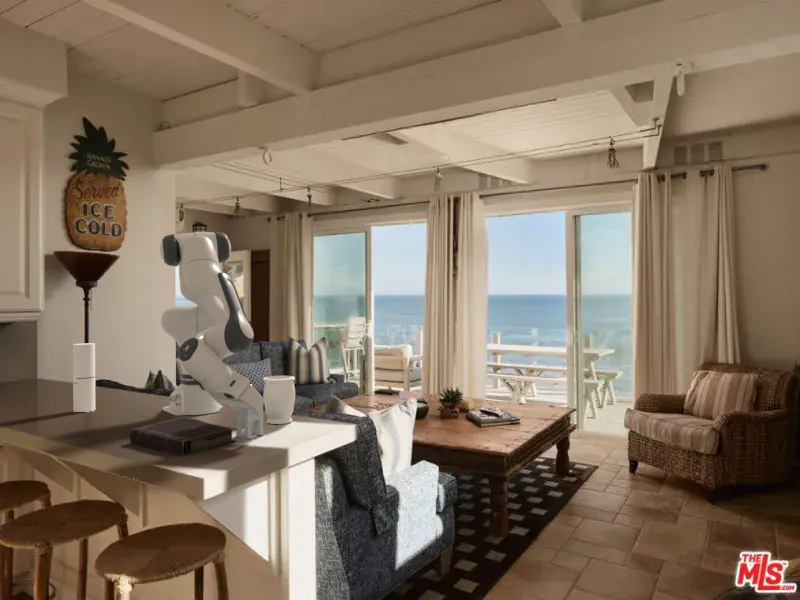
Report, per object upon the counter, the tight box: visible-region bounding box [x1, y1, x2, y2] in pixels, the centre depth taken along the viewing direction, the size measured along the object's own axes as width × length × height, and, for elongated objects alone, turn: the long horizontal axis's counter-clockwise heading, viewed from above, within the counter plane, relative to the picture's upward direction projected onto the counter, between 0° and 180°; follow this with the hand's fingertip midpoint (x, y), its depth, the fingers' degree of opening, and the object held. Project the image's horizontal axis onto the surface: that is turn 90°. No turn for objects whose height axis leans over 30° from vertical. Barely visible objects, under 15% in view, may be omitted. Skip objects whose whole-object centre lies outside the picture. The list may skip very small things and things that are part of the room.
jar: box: [262, 375, 296, 425], centre depth 188 cm, size 11×10×15 cm
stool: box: [235, 405, 264, 439], centre depth 169 cm, size 6×6×9 cm
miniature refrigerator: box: [72, 342, 96, 413], centre depth 210 cm, size 7×7×25 cm
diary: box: [129, 416, 238, 457], centre depth 162 cm, size 19×25×5 cm
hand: (251, 412), depth 170 cm, fingers open, 8 cm apart
